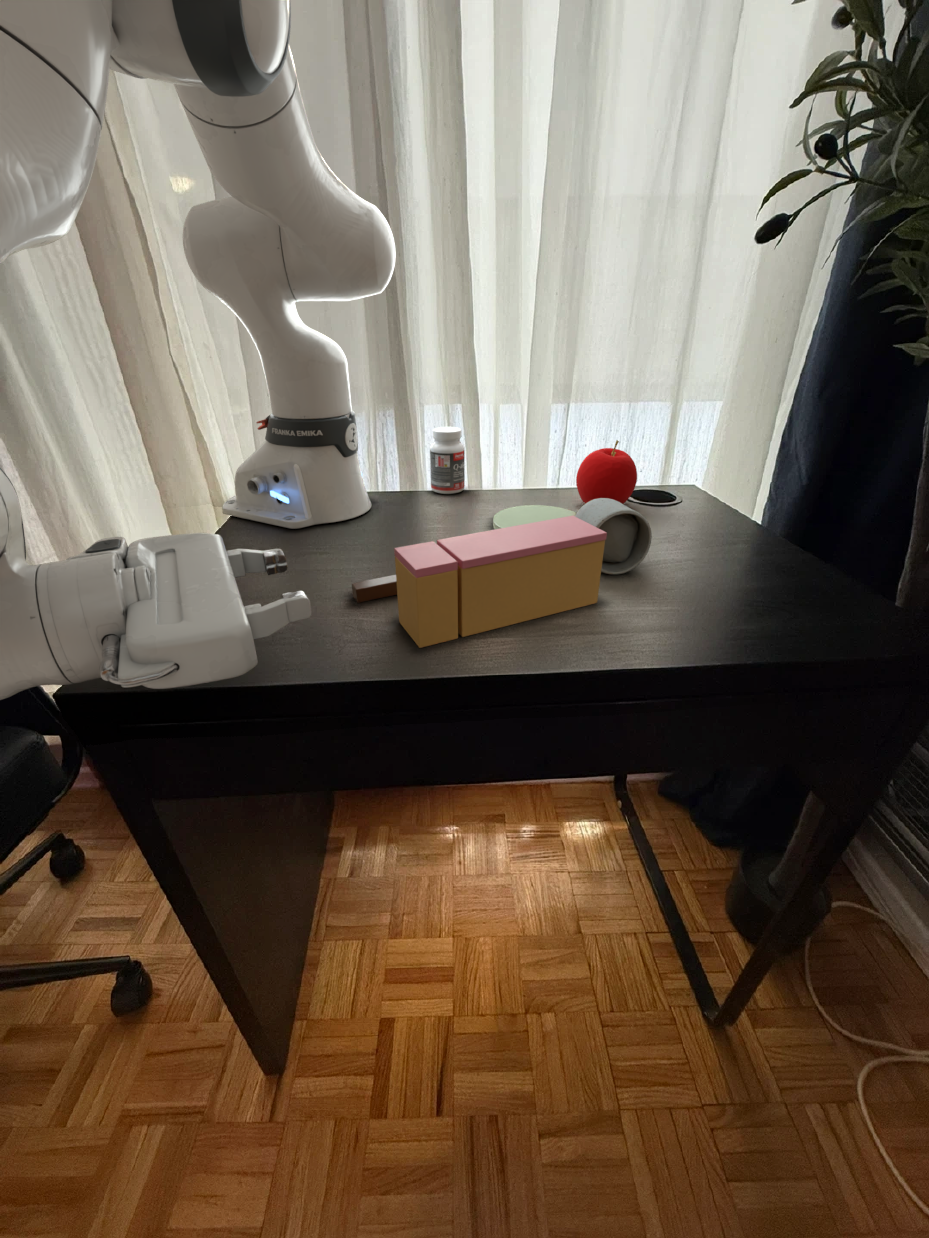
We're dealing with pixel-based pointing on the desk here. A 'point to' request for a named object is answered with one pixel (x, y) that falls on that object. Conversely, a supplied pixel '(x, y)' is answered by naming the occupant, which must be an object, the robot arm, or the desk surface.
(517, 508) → the plate
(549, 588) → the loaf cake
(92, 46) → the robot arm
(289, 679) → the desk surface
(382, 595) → the brown stick with tip
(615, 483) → the fruit
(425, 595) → the cake slice
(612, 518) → the ceramic mug
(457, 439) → the pill bottle
